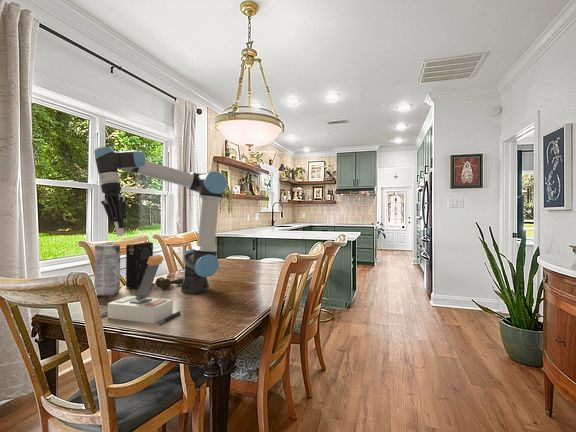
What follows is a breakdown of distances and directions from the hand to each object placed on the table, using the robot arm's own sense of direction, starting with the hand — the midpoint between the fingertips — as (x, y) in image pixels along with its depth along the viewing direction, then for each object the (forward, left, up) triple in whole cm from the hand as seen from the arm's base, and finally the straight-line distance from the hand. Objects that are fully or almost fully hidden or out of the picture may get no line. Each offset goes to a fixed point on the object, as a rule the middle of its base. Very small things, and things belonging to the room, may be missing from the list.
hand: (120, 235), depth 139 cm
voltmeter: (-3, -44, -33) cm, 55 cm away
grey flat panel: (-9, +13, -33) cm, 36 cm away
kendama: (-20, -37, -33) cm, 54 cm away
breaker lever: (-9, +13, -26) cm, 30 cm away
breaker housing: (-9, +13, -33) cm, 36 cm away
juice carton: (+11, -30, -33) cm, 46 cm away
